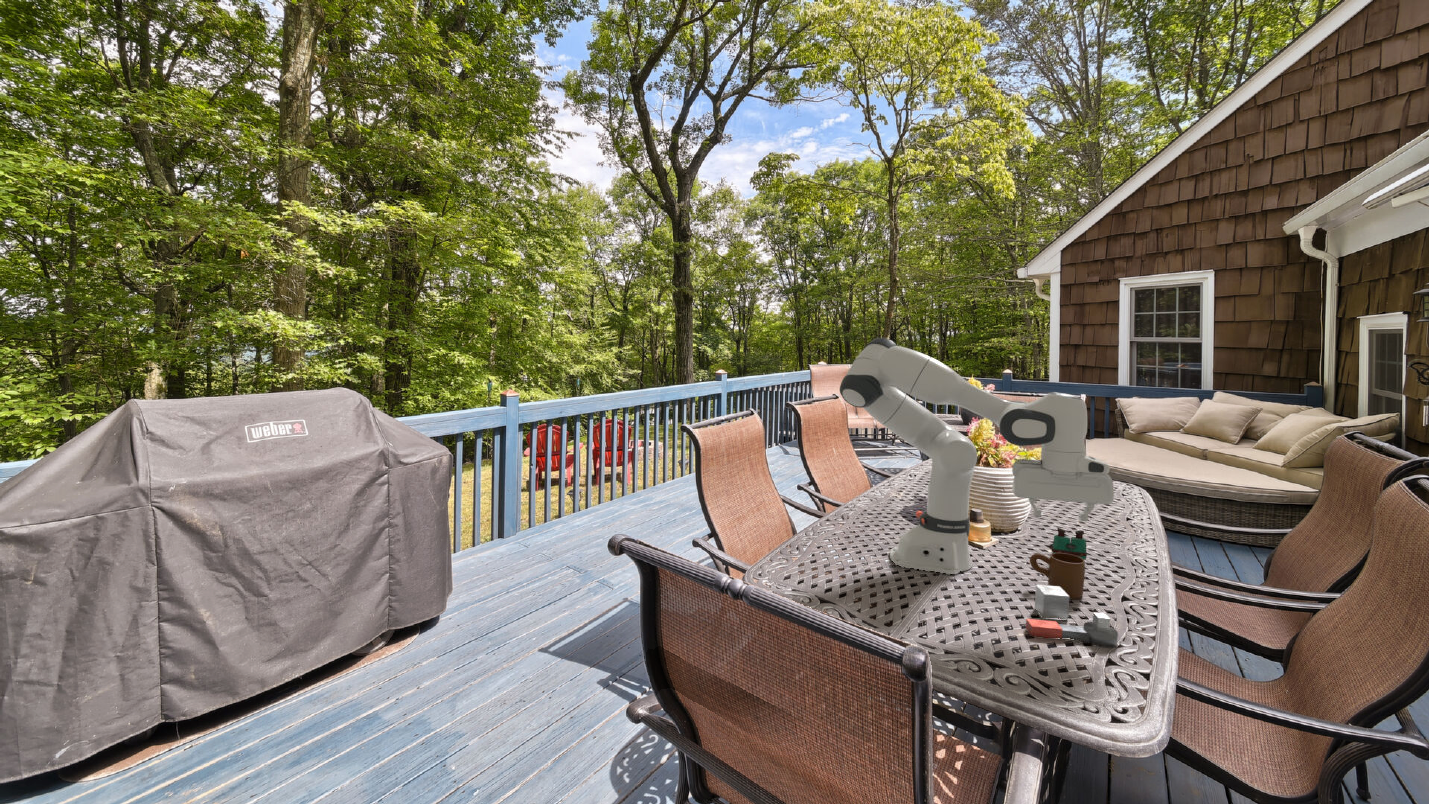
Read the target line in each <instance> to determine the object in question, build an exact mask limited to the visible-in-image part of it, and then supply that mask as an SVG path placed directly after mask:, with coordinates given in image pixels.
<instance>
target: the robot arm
mask: <svg viewBox="0 0 1429 804" xmlns="http://www.w3.org/2000/svg"><path fill="white" fill-rule="evenodd" d="M839 394H840V396H841V397H842V399H844V401H845V402H846V403H848V404H849V405H851V406H853V407H855V408H859V409H860V408H862V409H864V410H865V411H866V412H867V413H868V414H869V415H870V416H871V417H872V418H873V419H875V421H877V422H879V424H881V425H882V426H883V427H885V428H886V429H888V430H889V431H890V432H892V433H893V434H894V435H897V437H899V438H900V439H902V440H903V441H904V442H906V443H908V444H909V445H910V446H912V447H913V448H915V449H916V450H919V451H920V452H922V453H923V454H924V455H926V456H927V457H928V458H929V459H931V461H932V462H931V471H930V472H931V473H930V478H929V483H928V486H927V500H926V501H927V502H926V512H925V511H924V513H923V511H922V510H917V511H916V512H915V516H916V518H917V519H918V522H919V524H917V525H916V526H914V527H912V528H910V529H909V530H906V531H905V532H904V533H902V534H901V536H900V538H899V540H898V544H897V546H894V547H892V548H891V549H890V552H889V558H890V560H891V562H892V561H893V562H894V563H895V564H894V563H893V562H892V563H893V564H894V565H896V566H897V565H899V566H901V567H900V568H904V567H905V568H904V569H910V568H914V569H913V570H917V569H919V571H923V570H925V572H930V571H935V572H934V573H936V572H940V573H939V574H943V573H946V574H945V575H950V574H955V575H957V574H959V573H961V572H966V571H968V570H971V568H972V567H973V564H972V560H971V556H970V549H969V547H970V546H969V536H970V535H969V534H970V532H971V531H970V530H971V529H970V528H971V523H970V522H971V521H970V517H969V505H970V503H969V502H970V491H971V487H972V486H971V485H972V481H973V477H974V472H975V467H976V464H977V461H978V452H977V448H976V446H975V444H974V443H973V441H972V440H971V439H970V438H969V437H967V436H966V435H964V434H963V433H961V432H960V431H958V430H957V429H956V428H954V427H952V426H951V425H950V424H949V423H947V422H945V421H944V420H942V419H941V418H940V417H938V416H937V415H936V414H934V413H933V412H931V411H930V410H929V409H928V408H926V407H925V406H923V405H922V404H921V403H919V402H918V401H916V400H915V399H917V400H920V401H923V402H925V403H929V404H931V405H941V406H942V405H948V406H955V407H960V408H963V409H965V410H967V411H970V412H971V413H973V414H975V415H977V416H980V417H983V418H984V419H987V420H988V421H991V423H993V424H994V425H996V426H997V428H998V429H999V432H1000V435H1001V436H1002V437H1003V439H1004V440H1005V441H1006V442H1008V443H1009V444H1012V445H1014V446H1019V447H1029V446H1038V445H1039V446H1040V445H1041V452H1040V454H1041V455H1040V459H1026V458H1020V459H1019V460H1016V461H1015V462H1014V463H1013V464H1012V475H1013V476H1014V477H1013V482H1012V493H1013V495H1014V496H1016V498H1021V499H1028V500H1027V501H1028V503H1029V504H1030V506H1031V507H1032V509H1033V510H1032V511H1033V512H1032V515H1033V517H1034V518H1042V509H1041V508H1038V507H1037V506H1036V505H1035V504H1037V500H1045V501H1046V500H1047V501H1059V502H1070V503H1072V502H1073V503H1084V505H1085V506H1086V507H1085V508H1084V509H1083V511H1078V515H1079V516H1078V520H1079V521H1080V522H1089V521H1088V520H1089V514H1090V513H1092V511H1094V509H1095V504H1099V505H1110V504H1112V503H1113V502H1114V500H1115V491H1114V483H1113V479H1112V477H1111V476H1110V475H1109V473H1110V470H1111V467H1110V465H1109V464H1108V463H1107V462H1105V461H1103V460H1101V459H1098V458H1095V457H1093V456H1090V455H1086V454H1087V448H1086V443H1085V438H1086V436H1087V433H1088V410H1087V404H1086V403H1085V401H1084V399H1082V398H1081V397H1079V396H1078V395H1073V394H1070V393H1063V392H1056V391H1052V392H1049V393H1047V394H1045V395H1044V396H1041V397H1040V398H1038V399H1035V400H1033V401H1030V402H1027V401H1021V400H1008V399H1004V398H1001V397H999V396H997V395H994V394H992V393H990V392H988V391H986V390H983V389H982V388H979V387H978V386H975V385H974V384H971V383H970V382H969V381H967V380H966V379H965V378H963V377H962V376H961V375H960V374H959V373H957V372H956V371H955V370H954V369H952V368H951V367H949V366H948V365H946V364H945V363H943V362H941V361H940V360H938V359H936V358H934V357H932V356H929V355H927V354H926V353H922V352H920V351H917V350H914V349H911V348H908V347H906V346H905V347H904V346H900V345H897V344H896V343H895V342H894V341H893V340H891V339H889V338H885V337H876V338H874V339H872V340H871V341H869V342H868V343H867V344H866V345H865V346H864V348H863V350H861V352H859V354H858V355H857V356H856V357H855V359H854V360H853V362H852V364H851V366H850V368H849V370H848V371H847V373H846V375H845V376H844V377H843V378H842V380H841V382H840V385H839ZM910 396H911V397H912V398H911V397H910ZM913 398H915V399H913ZM899 566H898V567H899ZM960 571H961V572H960Z"/></svg>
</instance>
